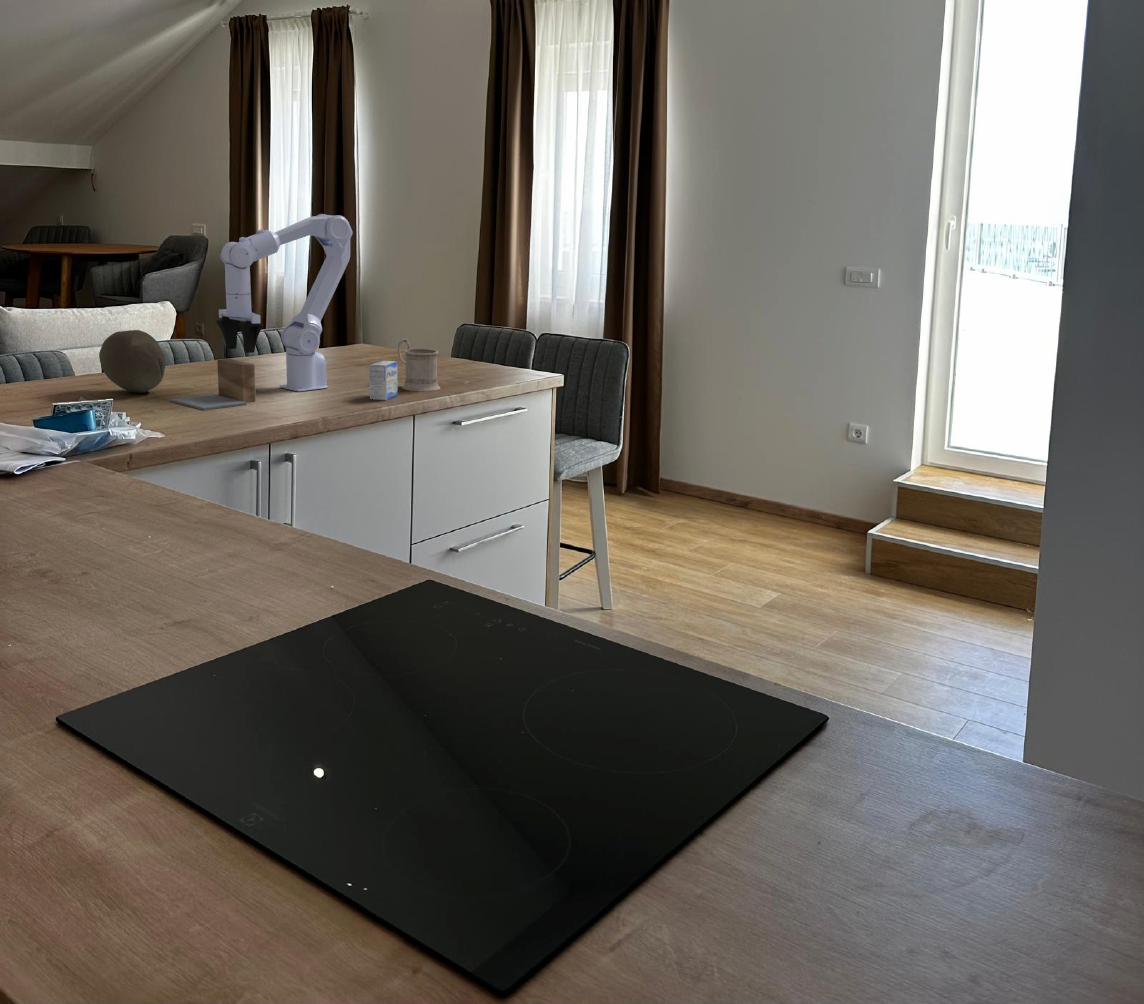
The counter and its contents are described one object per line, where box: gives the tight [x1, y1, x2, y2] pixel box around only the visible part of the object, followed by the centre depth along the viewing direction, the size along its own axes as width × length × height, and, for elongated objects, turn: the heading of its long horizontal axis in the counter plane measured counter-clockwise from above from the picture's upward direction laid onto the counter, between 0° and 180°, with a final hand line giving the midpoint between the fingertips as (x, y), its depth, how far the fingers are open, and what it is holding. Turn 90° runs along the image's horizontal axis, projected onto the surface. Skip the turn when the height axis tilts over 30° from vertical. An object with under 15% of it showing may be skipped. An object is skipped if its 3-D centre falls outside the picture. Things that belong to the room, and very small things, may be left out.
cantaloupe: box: [98, 329, 166, 394], centre depth 263 cm, size 14×14×15 cm
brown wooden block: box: [216, 358, 257, 404], centre depth 262 cm, size 4×10×9 cm, turn 50°
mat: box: [169, 393, 247, 411], centre depth 257 cm, size 11×14×1 cm
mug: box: [397, 338, 441, 392], centre depth 289 cm, size 14×10×12 cm
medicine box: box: [368, 360, 398, 402], centre depth 272 cm, size 8×4×9 cm, turn 168°
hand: (240, 350), depth 268 cm, fingers open, 7 cm apart
